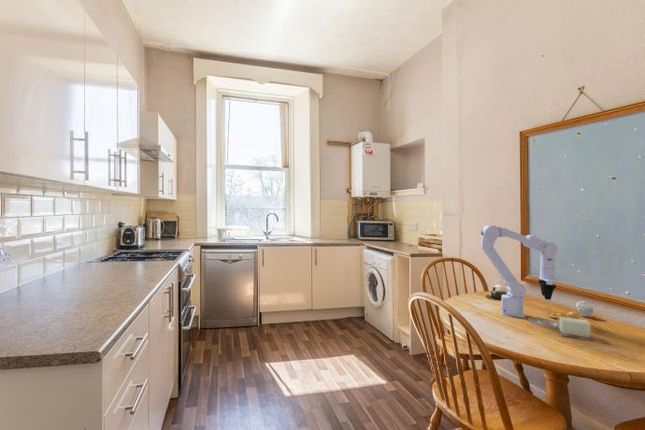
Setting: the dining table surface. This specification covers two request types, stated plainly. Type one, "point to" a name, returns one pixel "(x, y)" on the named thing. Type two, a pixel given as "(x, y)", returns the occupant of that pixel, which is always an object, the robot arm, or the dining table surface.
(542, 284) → the robot arm
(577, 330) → the sage block
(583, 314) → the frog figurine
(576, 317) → the figurine
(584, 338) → the walnut pad
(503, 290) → the skull
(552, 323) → the grey tile
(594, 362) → the dining table surface
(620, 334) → the dining table surface
